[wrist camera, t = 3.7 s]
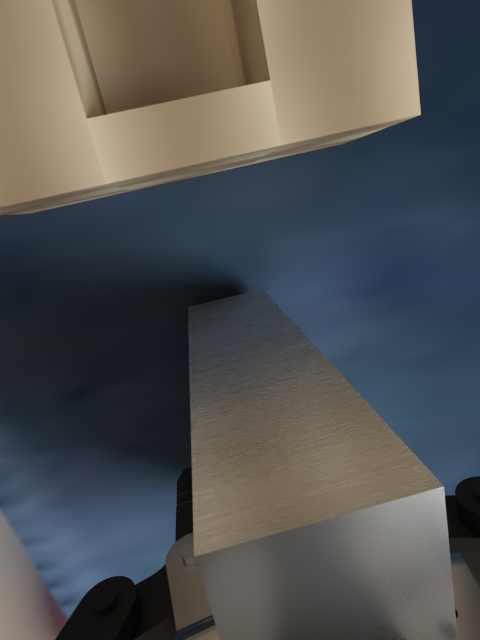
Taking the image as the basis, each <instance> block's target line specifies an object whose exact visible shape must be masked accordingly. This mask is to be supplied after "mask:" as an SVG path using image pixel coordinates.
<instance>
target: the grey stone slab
mask: <svg viewBox="0 0 480 640" xmlns="http://www.w3.org/2000/svg"><path fill="white" fill-rule="evenodd" d="M188 335H189V375H190V415H191V454H192V494H193V534H194V558H195V561H196V564H197V567H198V571H199V574H200V577H201V580H202V583H203V586H204V590H205V593H206V596H207V599H208V602H209V605H210V608H211V612H212V615H213V618H214V621H215V624H216V627H217V630H218V634H219V637H220V640H458V636H457V625H456V614H455V603H454V592H453V581H452V570H451V559H450V548H449V537H448V526H447V515H446V504H445V493H444V486H443V485H442V484H441V483H440V482H439V481H438V479H437V478H436V477H435V476H434V475H433V474H432V473H431V472H430V471H429V470H428V469H427V467H426V466H425V465H424V464H423V463H422V462H421V461H420V460H419V459H418V458H417V457H416V455H415V454H414V453H413V452H412V451H411V450H410V449H409V448H408V447H407V446H406V445H405V443H404V442H403V441H402V440H401V439H400V438H399V437H398V436H397V435H396V434H395V433H394V431H393V430H392V429H391V428H390V427H389V426H388V425H387V424H386V423H385V422H384V421H383V419H382V418H381V417H380V416H379V415H378V414H377V413H376V412H375V411H374V410H373V409H372V407H371V406H370V405H369V404H368V403H367V402H366V401H365V400H364V399H363V398H362V397H361V396H360V394H359V393H358V392H357V391H356V390H355V389H354V388H353V387H352V386H351V385H350V384H349V382H348V381H347V380H346V379H345V378H344V377H343V376H342V375H341V374H340V373H339V372H338V370H337V369H336V368H335V367H334V366H333V365H332V364H331V363H330V362H329V361H328V360H327V358H326V357H325V356H324V355H323V354H322V353H321V352H320V351H319V350H318V349H317V348H316V346H315V345H314V344H313V343H312V342H311V341H310V340H309V339H308V338H307V337H306V336H305V334H304V333H303V332H302V331H301V330H300V329H299V328H298V327H297V326H296V325H295V324H294V323H293V321H292V320H291V319H290V318H289V317H288V316H287V315H286V314H285V313H284V312H283V311H282V309H281V308H280V307H279V306H278V305H277V304H276V303H275V302H274V301H273V300H272V299H271V297H270V296H269V295H268V294H267V293H266V292H265V291H264V290H263V289H260V290H256V291H252V292H248V293H244V294H240V295H236V296H232V297H227V298H223V299H219V300H215V301H211V302H207V303H203V304H199V305H195V306H191V307H188Z"/></svg>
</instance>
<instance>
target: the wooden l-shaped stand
mask: <svg viewBox="0 0 480 640" xmlns="http://www.w3.org/2000/svg"><path fill="white" fill-rule="evenodd" d="M419 115H421V111H420V99H419V86H418V74H417V62H416V50H415V37H414V25H413V13H412V1H411V0H0V215H14V214H31V213H35V212H40V211H44V210H49V209H53V208H57V207H62V206H66V205H71V204H75V203H80V202H84V201H89V200H93V199H98V198H102V197H107V196H111V195H116V194H120V193H125V192H129V191H134V190H138V189H143V188H147V187H152V186H156V185H161V184H165V183H170V182H174V181H179V180H183V179H188V178H192V177H197V176H201V175H206V174H210V173H215V172H219V171H224V170H228V169H233V168H237V167H242V166H246V165H251V164H255V163H260V162H264V161H269V160H273V159H278V158H282V157H287V156H291V155H296V154H300V153H305V152H309V151H314V150H318V149H323V148H327V147H332V146H336V145H341V144H344V143H347V142H350V141H352V140H355V139H358V138H360V137H363V136H366V135H368V134H371V133H374V132H376V131H379V130H382V129H384V128H387V127H389V126H392V125H395V124H397V123H400V122H403V121H405V120H408V119H411V118H413V117H416V116H419Z"/></svg>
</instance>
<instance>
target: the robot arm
mask: <svg viewBox="0 0 480 640" xmlns="http://www.w3.org/2000/svg"><path fill="white" fill-rule="evenodd" d="M455 494H456V495H452V496H445V504H446V515H447V526H448V537H449V548H450V559H451V570H452V581H453V592H454V603H455V614H456V625H457V636H458V640H480V477H471V478H467V479H465V480H463V481H461V482H460V483H459V484H458V485H457V487H456V490H455ZM55 640H220V637H219V634H218V630H217V627H216V624H215V621H214V618H213V615H212V612H211V608H210V605H209V602H208V599H207V596H206V593H205V590H204V586H203V583H202V580H201V577H200V574H199V571H198V567H197V564H196V561H195V558H194V534H193V494H192V468H188V469H184V470H183V472H182V474H181V476H180V478H179V479H178V481H177V507H176V542H175V543H174V544H173V546H172V547H171V548H170V550H169V552H168V554H167V557H166V564H165V565H164V566H163V567H162V568H161V569H160V570H159V571H158V572H156V573H155V574H153V575H152V576H150V577H148V578H147V579H145V580H143V581H141V582H140V583H138V584H136V585H135V584H134V583H133V581H132V580H131V579H129V578H127V577H124V576H115V577H111V578H108V579H105V580H103V581H101V582H100V583H98V584H97V585H95V586H94V587H93V588H92V589H90V590H89V591H88V592H87V594H86V595H85V596H84V597H83V599H82V600H81V601H80V603H79V604H78V606H77V607H76V609H75V611H74V612H73V614H72V615H71V617H70V618H69V620H68V621H67V623H66V624H65V626H64V627H63V629H62V630H61V632H60V634H59V635H58V636H57V638H56V639H55Z"/></svg>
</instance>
